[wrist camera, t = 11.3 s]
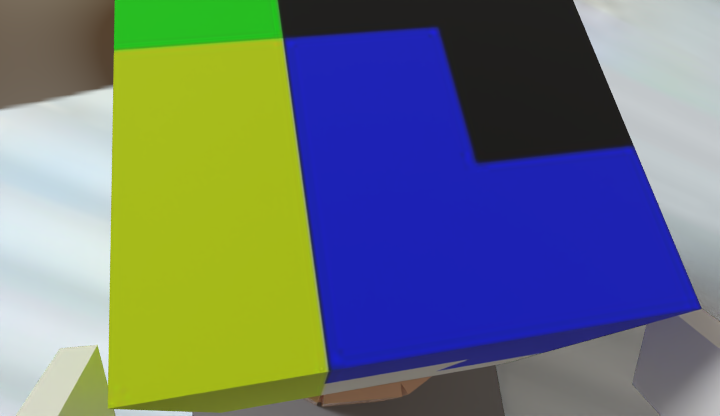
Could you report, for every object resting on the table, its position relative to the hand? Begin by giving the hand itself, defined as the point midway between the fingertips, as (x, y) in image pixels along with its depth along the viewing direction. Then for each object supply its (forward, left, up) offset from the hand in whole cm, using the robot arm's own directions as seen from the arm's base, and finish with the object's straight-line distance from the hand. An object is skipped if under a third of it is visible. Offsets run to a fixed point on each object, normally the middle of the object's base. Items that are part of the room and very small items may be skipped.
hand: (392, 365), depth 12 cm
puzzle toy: (0, +5, -6) cm, 8 cm away
